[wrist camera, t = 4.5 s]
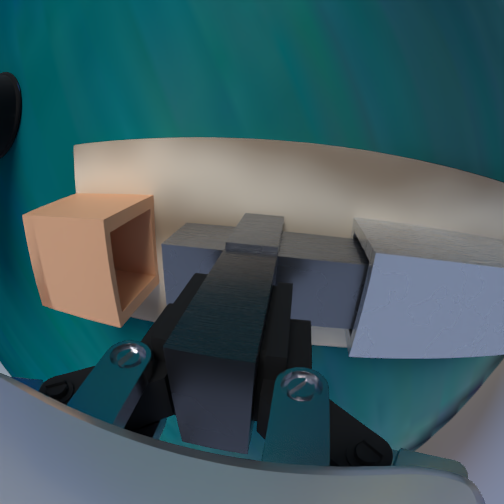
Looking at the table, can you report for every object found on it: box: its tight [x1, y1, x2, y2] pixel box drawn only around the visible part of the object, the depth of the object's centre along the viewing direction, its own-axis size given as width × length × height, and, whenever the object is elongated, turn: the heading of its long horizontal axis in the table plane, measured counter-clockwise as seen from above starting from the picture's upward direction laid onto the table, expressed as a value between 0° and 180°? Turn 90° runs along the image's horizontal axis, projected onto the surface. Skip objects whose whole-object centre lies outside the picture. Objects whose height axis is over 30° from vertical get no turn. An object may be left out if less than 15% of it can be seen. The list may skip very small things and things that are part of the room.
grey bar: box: [161, 213, 369, 454], centre depth 11 cm, size 4×16×10 cm, turn 87°
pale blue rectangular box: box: [344, 217, 504, 359], centre depth 13 cm, size 5×12×5 cm, turn 87°
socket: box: [22, 193, 159, 328], centre depth 15 cm, size 6×6×5 cm
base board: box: [74, 137, 504, 347], centre depth 17 cm, size 12×30×2 cm, turn 87°
